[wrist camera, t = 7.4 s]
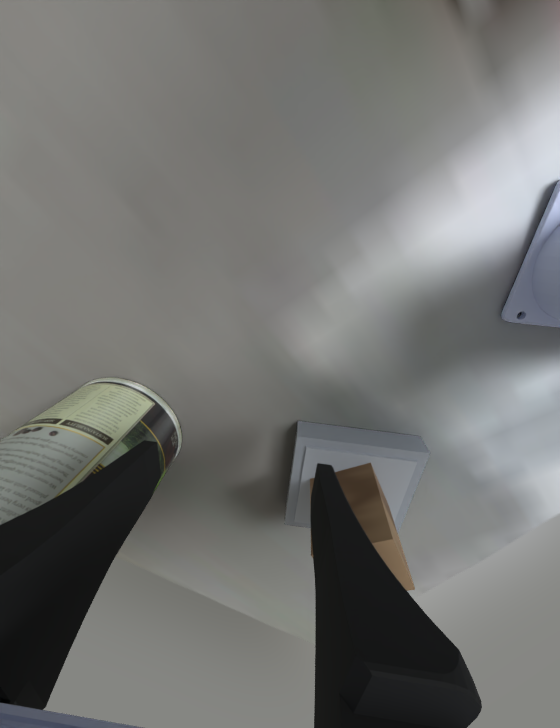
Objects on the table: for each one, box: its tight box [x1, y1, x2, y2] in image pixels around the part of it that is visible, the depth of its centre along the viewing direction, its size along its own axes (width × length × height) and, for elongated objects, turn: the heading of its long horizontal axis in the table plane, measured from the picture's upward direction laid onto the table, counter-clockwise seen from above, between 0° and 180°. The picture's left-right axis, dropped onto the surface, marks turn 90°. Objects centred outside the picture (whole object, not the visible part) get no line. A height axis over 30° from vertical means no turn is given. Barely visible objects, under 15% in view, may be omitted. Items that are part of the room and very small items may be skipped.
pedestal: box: [284, 421, 430, 533], centre depth 24 cm, size 10×10×2 cm
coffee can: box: [0, 377, 182, 553], centre depth 18 cm, size 10×10×14 cm
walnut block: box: [310, 463, 415, 591], centre depth 20 cm, size 5×5×6 cm
